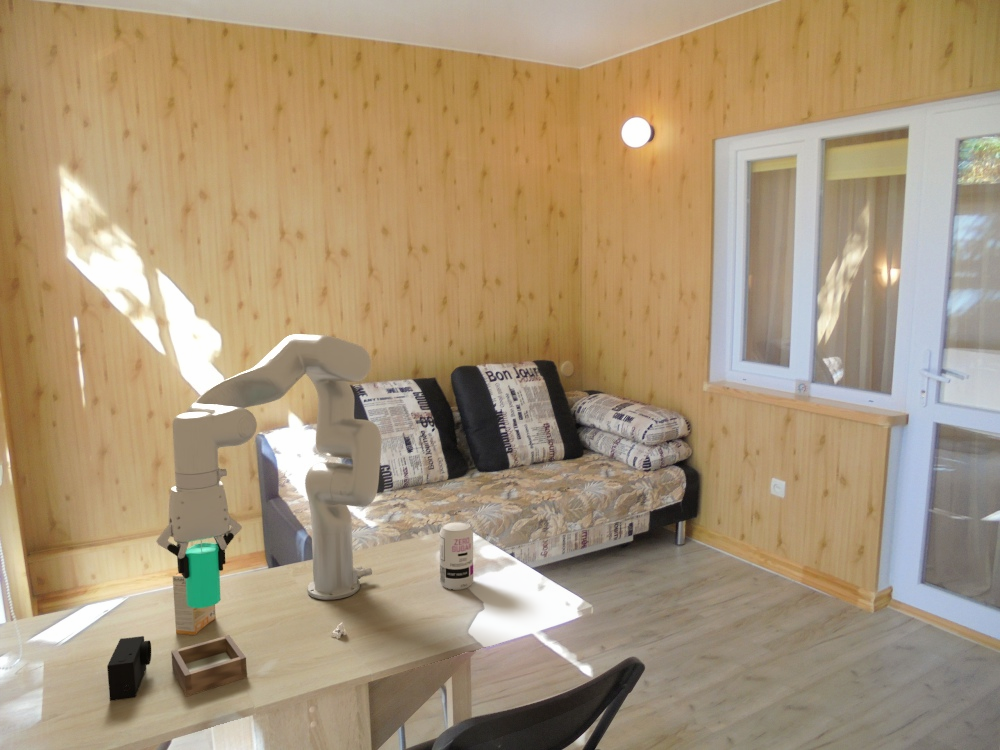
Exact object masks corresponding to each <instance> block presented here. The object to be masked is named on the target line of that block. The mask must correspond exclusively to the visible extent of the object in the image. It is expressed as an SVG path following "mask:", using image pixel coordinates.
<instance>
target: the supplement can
mask: <svg viewBox="0 0 1000 750" xmlns="http://www.w3.org/2000/svg"><path fill="white" fill-rule="evenodd" d="M439 582H440V584H441V585H442V586H443V587H444V588H445V589H447V588H448V590H451V589H453V590H452V591H461V590H465V589H467V588H469V587H470V586H471V585H473V583H474V531H473V529H472V526H471V524H470V523H469V522H465V521H462V520H461V521H459V520H458V521H448V522H445V523H443V524H442V526H441V527H440V531H439Z"/></svg>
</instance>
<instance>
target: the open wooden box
mask: <svg viewBox="0 0 1000 750" xmlns="http://www.w3.org/2000/svg"><path fill="white" fill-rule="evenodd" d="M171 667H172V672H173V674H174V675H175V678H176V680H177V681H178V683H179V685H180V688H181V689H182V691H183V693H184V694H185V697H188V696H192V695H195V694H197V693H201V692H204V691H208V690H211V689H214V688H217V687H221V686H223V685H226V684H229V683H232V682H236V681H239V680H240V681H241V680H243V679H246V678H247V677H248V674H247V673H248V670H247V657H246V655H245V654H244V653H243V651H242V650H241V649H240V647H239V646H238V644H237V643H236V642H235V641H234V639H233V638H232V637H231V635H229V634H228V635H224V636H220V637H217V638H214V639H210V640H207V641H202V642H199V643H196V644H195V643H194V644H192V645H189V646H185V647H182V648H177V649H174V650H171Z"/></svg>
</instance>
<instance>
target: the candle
mask: <svg viewBox="0 0 1000 750" xmlns="http://www.w3.org/2000/svg"><path fill="white" fill-rule="evenodd" d="M218 551H219V547H218V545H217V543H216V542H215V543H213V542H203V540H200V543H196V544H194V545H192V546H190V547H189V548H188V547H187V550H186V557H188V565H189V577H188V578H186V596H187V605H188V606H189V607H192V608H205V607H210V606H213V605H215V606H216V605H217V604H218V603H219V602H221V599H222V598H221V578H220V576H221V575H220V574H221V573H220V570H219V561H218Z"/></svg>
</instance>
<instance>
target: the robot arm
mask: <svg viewBox="0 0 1000 750" xmlns="http://www.w3.org/2000/svg"><path fill="white" fill-rule="evenodd" d="M371 367H372V359H371V356H370V353H369V352H368V351H367V349H366V348H365V347H363V346H362V345H360V344H356V343H353V342H351V341H347V340H345V339H341V338H339V337H336V336H335V337H334V336H331V335H326V334H309V333H307V334H305V333H299V334H298V333H297V334H291V335H288V336H286V337H285V338H283V340H281V341H280V342H279V343H278V344H277V345H276V346H274V347H273V348H272V350H271V351H269V352H268V353H267V354H266V355H264V357H262V359H261V360H260V361H259V362H258V363H256V364H255V366H253V367H252V368H250V369H247V370H245V371H243V372H240V373H238V374H235V375H234V376H231V377H230V378H229V377H228V378H226V379H225V380H222V381H220V382H218V383H217V384H215V385H213V386H211V387H209V388H208V389H207V390H206V391H204V392H203V393H201V395H199V397H198V398H196V400H195V401H193V402H192V404H191V405H190V406H189V407H188V409H186V411H185V412H184V413H180V414H178V415H176V416H175V417H173V420H172V424H171V425H172V427H171V428H172V440H173V441H172V442H173V443H172V445H173V460H174V474H175V475H174V477H175V478H174V479H175V486H172V487H171V489H170V492H169V493H170V494H169V500H168V501H169V503H168V525H167V526H166V528H165V529H164V530H163V531H162V532H161V534H160V535H159V536H158V538H157V539H156V543H157V544H158V546H160V547H161V548H163V549H165V550H167V551H169V553H171V554H173V555H175V556H176V558H177V559H176V560H177V561H176V562H177V571H178V572H177V573H179V574H182V575H183V577H184V578H185V579H186V578H188V577H189V565H188V557H186V550H187V549H188V546H189V543H191V542H196V541H201V540H202V541H203V540H207V539H211V538H213V539H214V541H215V544H217V545H218V547H219V551H218V561H219V572H220V571H224V565H226V550H227V548H228V545H229V544H230V543H231V542H232V540H233V539H234V538H235V536H237V535H238V533H239V532H240V531H241V530H242V528H243V526H242V525H241V524H240V523H238V521H236V520H235V519H234V518H233V517H231V516H230V514H229V505H228V502H227V496H226V495H227V494H226V491H225V487H224V483H223V482H222V481H221V478H223V477H226V476H227V474H228V471H227V469H226V468H221V467H219V452H218V451H219V449H220V448H226V447H237V446H241V445H244V444H246V443H248V442H249V441H250V440H251V439H252V438H253V437H254V435H255V434H256V432H257V427H258V422H257V420H256V419H257V418H256V417H255V415H254V414H253V412H252V411H250V410H248V409H247V408H250V407H256V406H261V405H265V404H270V403H272V402H275V401H277V400H280V399H282V398H283V397H284V396H285V395H286V394H287V393H288V392H289V391H290V390H291V389H292V387H294V386H295V385H296V383H297V382H298V381H299V380H301V378H302V377H303V376H304V375H306V376H307V377H308V379H309V380H310V381H311V382H312V384H313V385H314V387H315V390H316V393H317V397H318V398H317V399H318V405H317V406H318V407H317V417H316V418H317V420H316V430H315V432H316V433H315V447H316V450H317V452H318V453H320V455H322V456H326V457H330V458H339V459H340V458H341V459H349V460H352V464H347V463H341V462H332V461H331V462H329V461H324V462H318V463H316V464H314V465H313V466H311V467H310V468H309V469H308V471H307V473H306V475H305V480H304V481H305V483H304V484H305V485H304V486H305V492H306V497H307V500H308V505H309V510H310V522H311V548H312V550H311V551H312V573H313V574H312V575H313V580H312V581H310V582H309V583H308V585H307V586H306V589H307V590H306V591H307V595H309V596H310V597H312V598H314V599H317V600H324V601H325V600H326V601H329V600H339V599H345V598H348V597H351V596H352V595H354V594H356V593H357V592H358V591H359V590H360V588H361V582H360V579H361V578H362V577H367V576H371V575H372V574H373V570H372V567H370V566H369V567H365V568H363V566H361V565H360V566H355V567H354V553H353V549H354V548H353V521H352V515H351V512H350V509H349V507H360V508H364V507H368V506H370V505H371V504H372V503H374V501H375V498H376V497H377V494H378V489H379V481H380V467H381V456H382V455H381V454H382V442H383V441H382V435H381V431H380V429H379V427H378V425H377V423H374V422H373V421H371V420H368V419H359V418H358V419H357V418H355V393H354V392H353V389H352V387H351V385H350V383H358V382H361V381H363V380H365V379H366V378H367V376H368V375H369V374H370V371H371ZM348 506H349V507H348ZM171 537H172V538H173V540H174V542H175V543H176V544H174V543H172V542H170V541H169V539H170V538H171Z"/></svg>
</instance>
